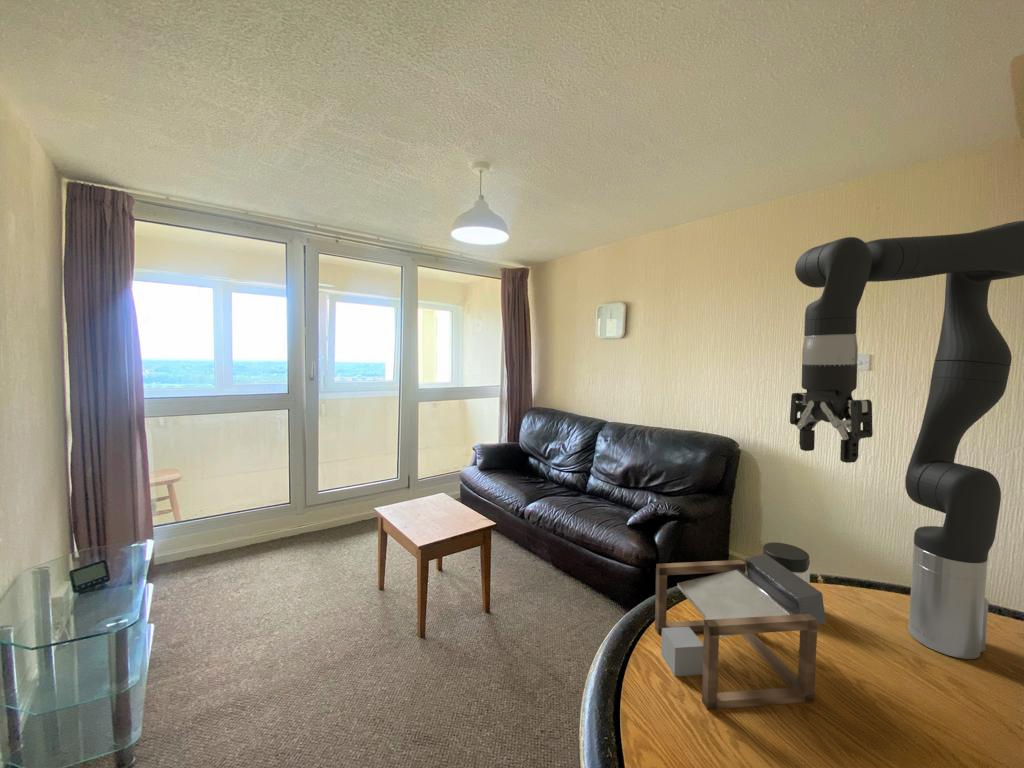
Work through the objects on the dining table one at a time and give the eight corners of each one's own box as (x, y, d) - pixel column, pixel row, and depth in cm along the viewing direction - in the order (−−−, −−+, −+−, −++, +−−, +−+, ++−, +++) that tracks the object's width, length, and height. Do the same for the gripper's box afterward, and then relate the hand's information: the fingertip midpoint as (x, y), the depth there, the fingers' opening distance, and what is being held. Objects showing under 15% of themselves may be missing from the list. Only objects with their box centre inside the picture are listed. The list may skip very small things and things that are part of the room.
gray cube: (689, 626, 74) (661, 628, 73) (704, 646, 69) (675, 647, 69) (688, 653, 74) (661, 655, 74) (703, 674, 69) (674, 676, 69)
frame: (738, 623, 82) (740, 559, 81) (813, 701, 64) (817, 619, 63) (654, 628, 81) (656, 563, 80) (707, 709, 62) (709, 626, 61)
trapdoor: (765, 576, 80) (762, 551, 79) (830, 625, 65) (826, 595, 65) (678, 596, 79) (674, 571, 78) (724, 651, 64) (719, 621, 64)
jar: (819, 616, 84) (821, 558, 84) (785, 621, 83) (788, 563, 82) (781, 591, 93) (783, 539, 92) (750, 596, 91) (752, 543, 91)
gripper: (890, 362, 64) (886, 465, 65) (815, 360, 78) (813, 446, 80) (845, 363, 64) (841, 468, 65) (778, 362, 78) (776, 447, 79)
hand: (826, 455), depth 72 cm, fingers open, 8 cm apart
